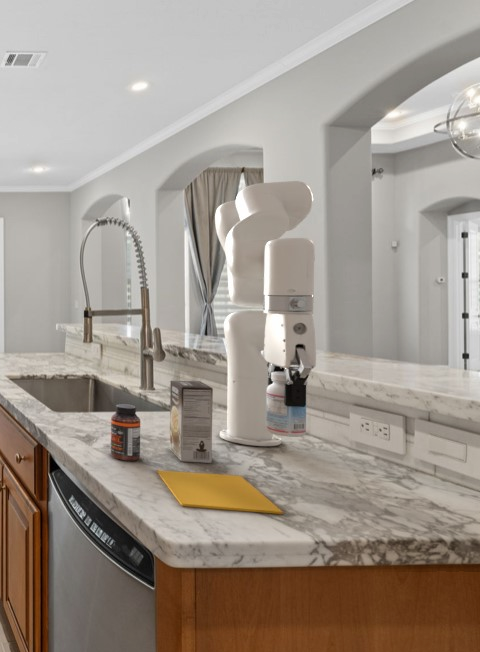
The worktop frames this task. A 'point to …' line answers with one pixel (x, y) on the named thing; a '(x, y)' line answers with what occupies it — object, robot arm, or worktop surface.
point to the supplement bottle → (125, 433)
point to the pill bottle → (283, 410)
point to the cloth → (216, 492)
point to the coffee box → (191, 421)
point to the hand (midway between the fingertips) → (286, 401)
